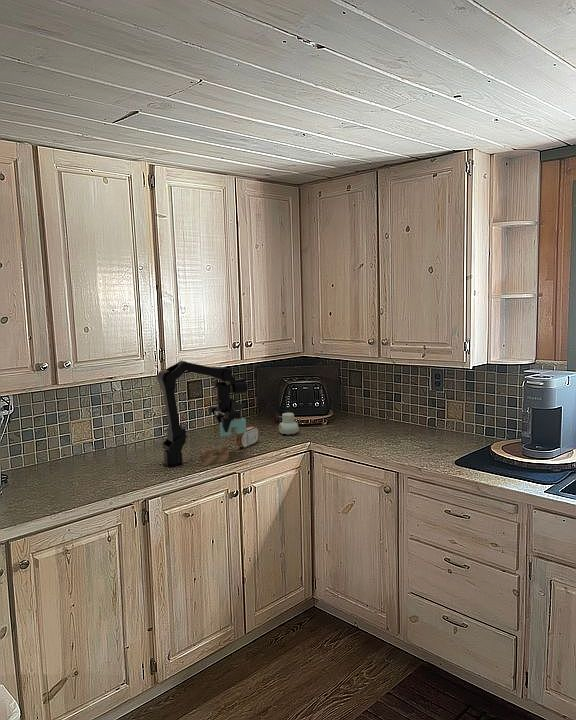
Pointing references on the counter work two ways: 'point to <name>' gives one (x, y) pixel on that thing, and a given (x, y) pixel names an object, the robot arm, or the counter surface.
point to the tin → (248, 437)
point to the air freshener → (288, 424)
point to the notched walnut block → (209, 459)
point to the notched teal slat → (238, 424)
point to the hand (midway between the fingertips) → (225, 431)
